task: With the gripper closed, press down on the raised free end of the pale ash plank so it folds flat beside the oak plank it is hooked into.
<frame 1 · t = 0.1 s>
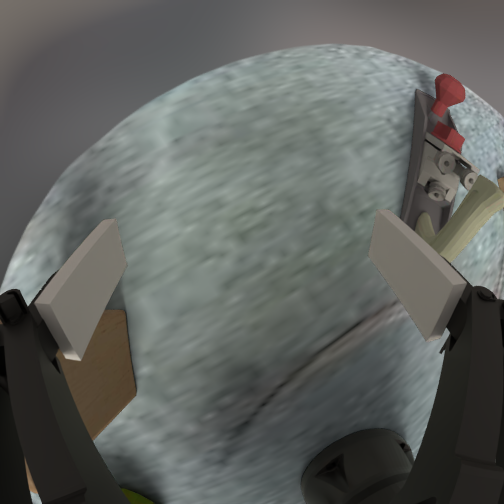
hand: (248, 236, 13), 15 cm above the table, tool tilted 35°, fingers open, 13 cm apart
apple: (134, 503, 24), on the table
wooden block: (94, 351, 27), on the table
hand plane: (427, 171, 32), on the table
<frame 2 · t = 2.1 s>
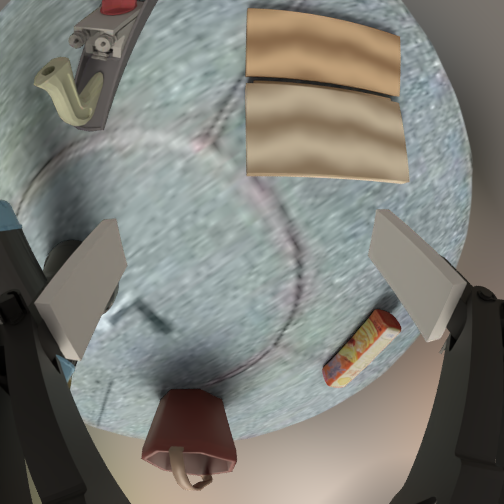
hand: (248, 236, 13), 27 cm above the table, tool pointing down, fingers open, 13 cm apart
ash plank: (332, 129, 33), point 3 cm above the table, hinge at 25.0°
oak plank: (326, 50, 30), on the table
snack package: (354, 341, 59), on the table
bucket: (189, 403, 66), on the table
hand plane: (119, 32, 26), on the table
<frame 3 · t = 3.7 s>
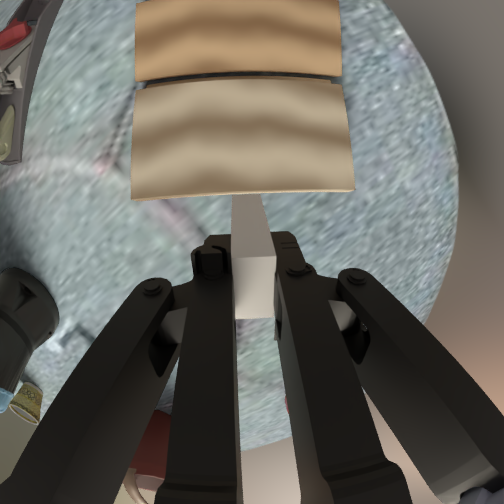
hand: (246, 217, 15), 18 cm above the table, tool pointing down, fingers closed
ash plank: (241, 130, 26), point 3 cm above the table, hinge at 25.0°
oak plank: (238, 32, 23), on the table
ceramic cup: (30, 387, 53), on the table
bucket: (154, 422, 60), on the table
hand plane: (26, 59, 20), on the table
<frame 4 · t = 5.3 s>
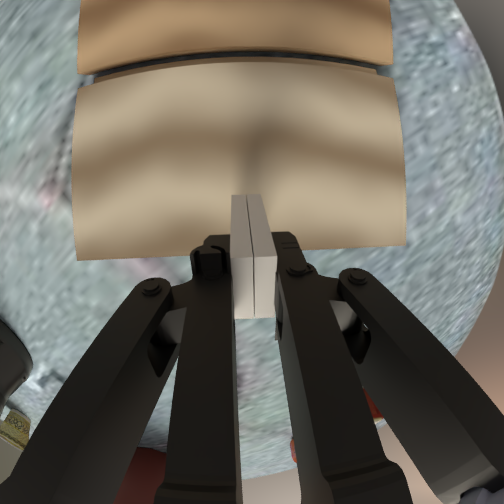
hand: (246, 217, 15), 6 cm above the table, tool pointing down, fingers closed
ash plank: (238, 146, 16), point 3 cm above the table, hinge at 20.4°, touching gripper
snack package: (328, 416, 42), on the table
ceramic cup: (18, 413, 44), on the table
bucket: (147, 456, 51), on the table
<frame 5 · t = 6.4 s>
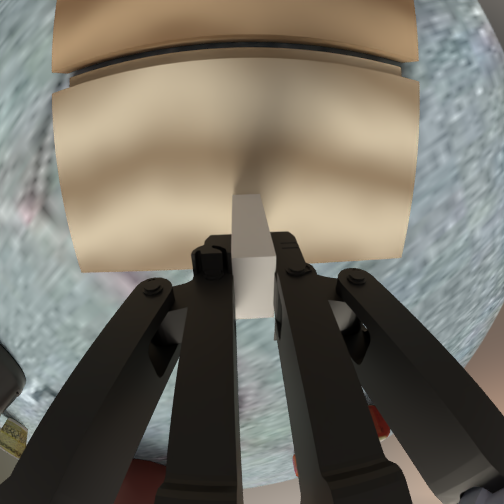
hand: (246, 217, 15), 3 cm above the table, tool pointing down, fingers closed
ash plank: (237, 157, 15), point 1 cm above the table, hinge at 3.6°, touching gripper
snack package: (331, 431, 39), on the table
ceramic cup: (15, 422, 42), on the table
bucket: (145, 467, 48), on the table
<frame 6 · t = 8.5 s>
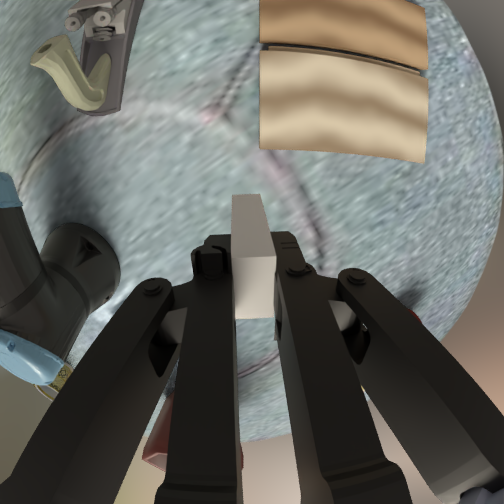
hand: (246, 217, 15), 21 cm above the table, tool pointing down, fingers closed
ash plank: (351, 102, 29), point 1 cm above the table, hinge at 3.6°
oak plank: (347, 18, 24), on the table
ceramic cup: (60, 364, 58), on the table
bucket: (197, 402, 63), on the table
hand plane: (119, 12, 23), on the table
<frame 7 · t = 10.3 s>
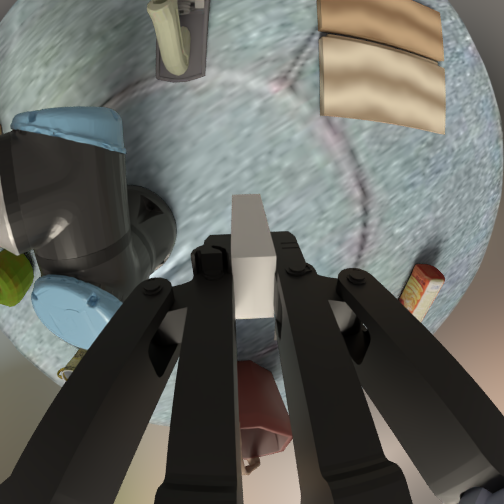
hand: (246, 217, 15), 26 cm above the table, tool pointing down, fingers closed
ash plank: (389, 84, 32), point 1 cm above the table, hinge at 3.6°
oak plank: (383, 18, 28), on the table
apple: (21, 263, 45), on the table
snack package: (404, 300, 56), on the table
ceramic cup: (86, 352, 59), on the table
bucket: (235, 379, 65), on the table
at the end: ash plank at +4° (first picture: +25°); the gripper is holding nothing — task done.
